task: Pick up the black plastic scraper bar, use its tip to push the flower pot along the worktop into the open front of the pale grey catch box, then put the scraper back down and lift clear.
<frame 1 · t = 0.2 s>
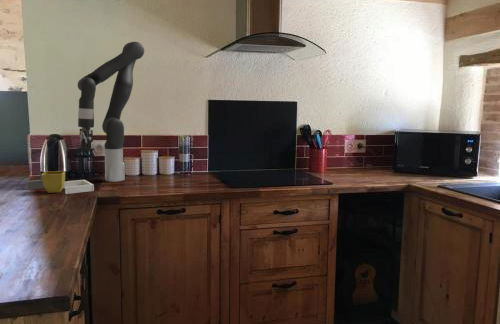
hand: (85, 149, 208), 17 cm above the countertop, tool pointing down, fingers open, 8 cm apart
scraper: (41, 188, 196), on the countertop
flower pot: (54, 192, 188), on the countertop
catch box: (74, 189, 194), on the countertop
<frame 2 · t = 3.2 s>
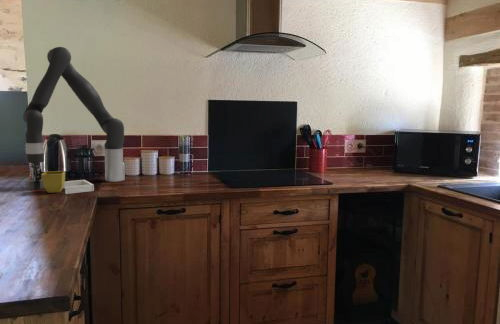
hand: (36, 187, 195), 0 cm above the countertop, tool pointing down, fingers open, 3 cm apart
scraper: (41, 188, 197), on the countertop, touching gripper
everything else where it was.
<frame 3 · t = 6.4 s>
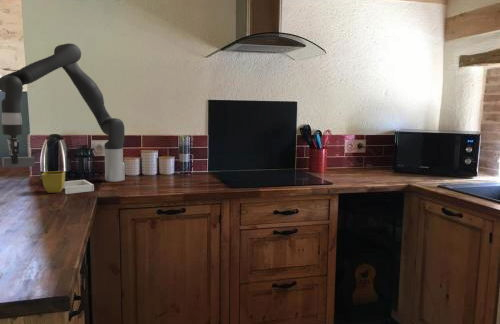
hand: (14, 163, 177), 14 cm above the countertop, tool pointing down, fingers closed on scraper, 3 cm apart
scraper: (19, 166, 178), point 13 cm above the countertop, touching gripper
everything else where it was.
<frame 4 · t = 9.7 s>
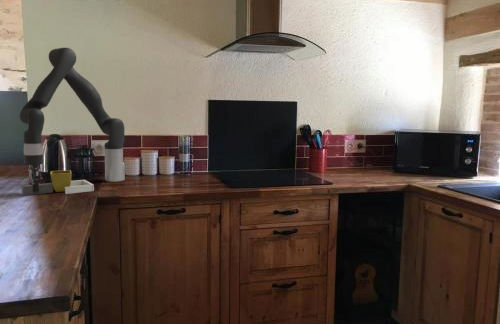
hand: (35, 191, 183), 1 cm above the countertop, tool pointing down, fingers closed on scraper, 3 cm apart
scraper: (37, 193, 184), on the countertop, touching flower pot, gripper
flower pot: (61, 191, 190), on the countertop, touching scraper
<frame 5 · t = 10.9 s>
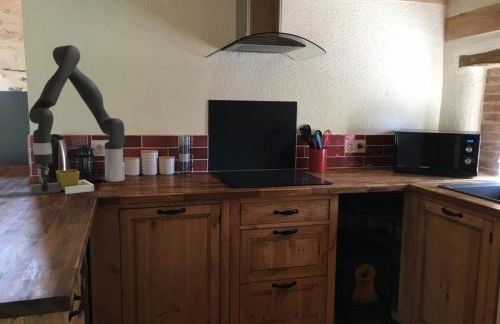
hand: (44, 190, 185), 1 cm above the countertop, tool pointing down, fingers closed on scraper, 3 cm apart
scraper: (45, 192, 186), on the countertop, touching flower pot, gripper
flower pot: (68, 190, 192), on the countertop, touching scraper
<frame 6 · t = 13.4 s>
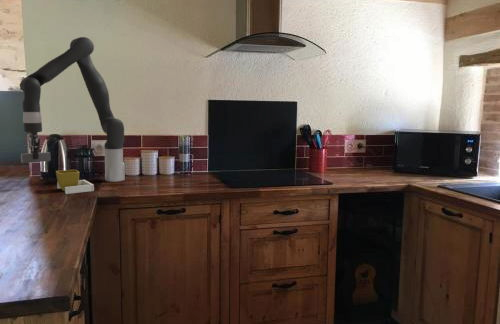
hand: (35, 158, 191), 15 cm above the countertop, tool pointing down, fingers closed on scraper, 3 cm apart
scraper: (36, 161, 192), point 13 cm above the countertop, touching gripper
flower pot: (68, 190, 192), on the countertop
when the fingers open (2 cm above the countertop, at t = 16.0 s): scraper stays where it is, on the countertop.
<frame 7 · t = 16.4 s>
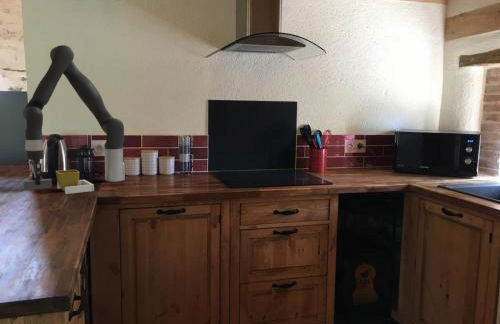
hand: (36, 183, 195), 2 cm above the countertop, tool pointing down, fingers open, 6 cm apart
scraper: (37, 188, 195), on the countertop
everything else where it was.
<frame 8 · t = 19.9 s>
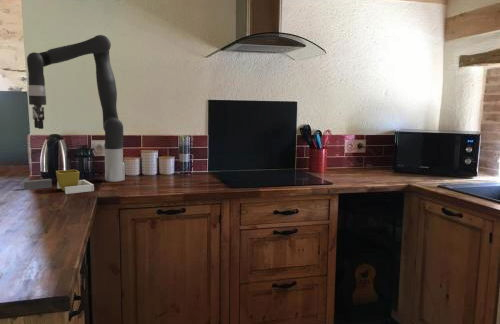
hand: (38, 128, 201), 28 cm above the countertop, tool pointing down, fingers open, 8 cm apart
nothing on the countertop moved.
at the end: flower pot 3.6 cm off-centre on the catch box, point 0.0 cm above the catch box's base; flower pot tilted 0° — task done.
